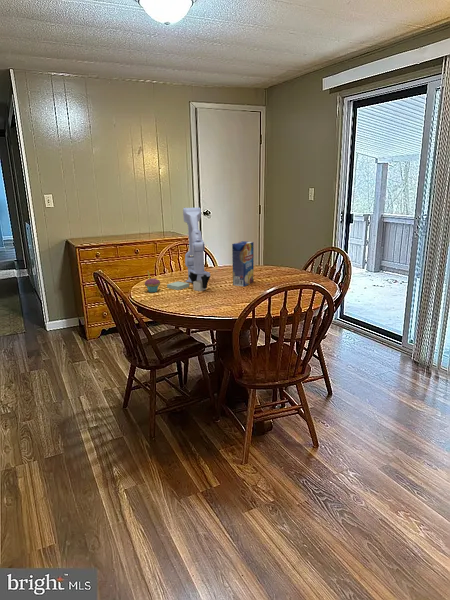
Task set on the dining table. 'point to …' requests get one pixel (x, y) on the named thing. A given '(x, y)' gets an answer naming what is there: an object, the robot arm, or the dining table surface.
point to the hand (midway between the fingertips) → (199, 287)
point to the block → (198, 285)
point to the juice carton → (243, 263)
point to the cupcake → (152, 284)
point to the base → (178, 285)
